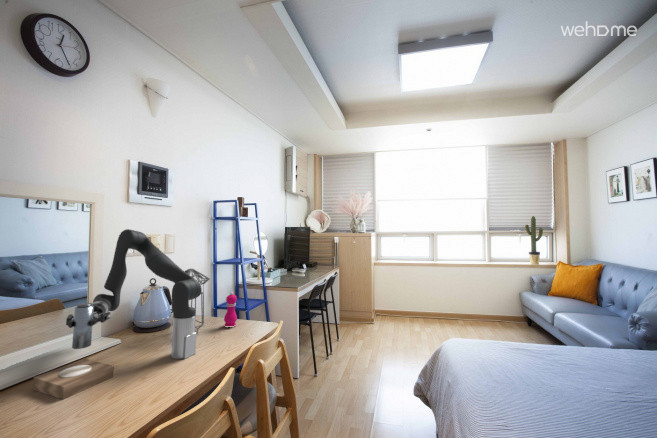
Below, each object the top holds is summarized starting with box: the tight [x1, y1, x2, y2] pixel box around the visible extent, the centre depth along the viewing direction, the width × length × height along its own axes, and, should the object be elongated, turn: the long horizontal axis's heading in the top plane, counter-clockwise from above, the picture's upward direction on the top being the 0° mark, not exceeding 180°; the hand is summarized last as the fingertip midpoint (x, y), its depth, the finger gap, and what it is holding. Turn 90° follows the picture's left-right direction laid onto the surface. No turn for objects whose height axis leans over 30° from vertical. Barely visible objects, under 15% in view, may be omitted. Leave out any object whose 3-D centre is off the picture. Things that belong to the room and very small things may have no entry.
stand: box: [32, 358, 115, 400], centre depth 105 cm, size 16×16×4 cm
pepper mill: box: [223, 291, 238, 327], centre depth 171 cm, size 7×7×20 cm
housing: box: [71, 302, 94, 350], centre depth 111 cm, size 6×6×16 cm
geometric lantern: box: [171, 268, 211, 334], centre depth 157 cm, size 16×16×35 cm
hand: (81, 324), depth 109 cm, fingers closed on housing, 5 cm apart
